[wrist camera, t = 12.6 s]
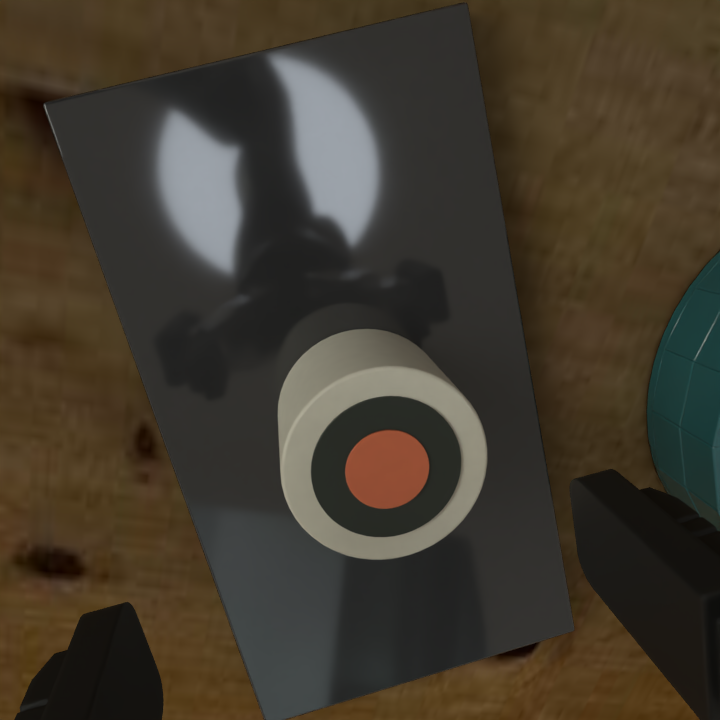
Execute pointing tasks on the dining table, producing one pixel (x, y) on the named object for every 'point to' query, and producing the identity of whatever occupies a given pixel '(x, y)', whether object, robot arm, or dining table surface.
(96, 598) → the dining table surface
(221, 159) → the glossy dark tile
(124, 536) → the dining table surface
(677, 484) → the bowl
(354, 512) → the sushi roll
